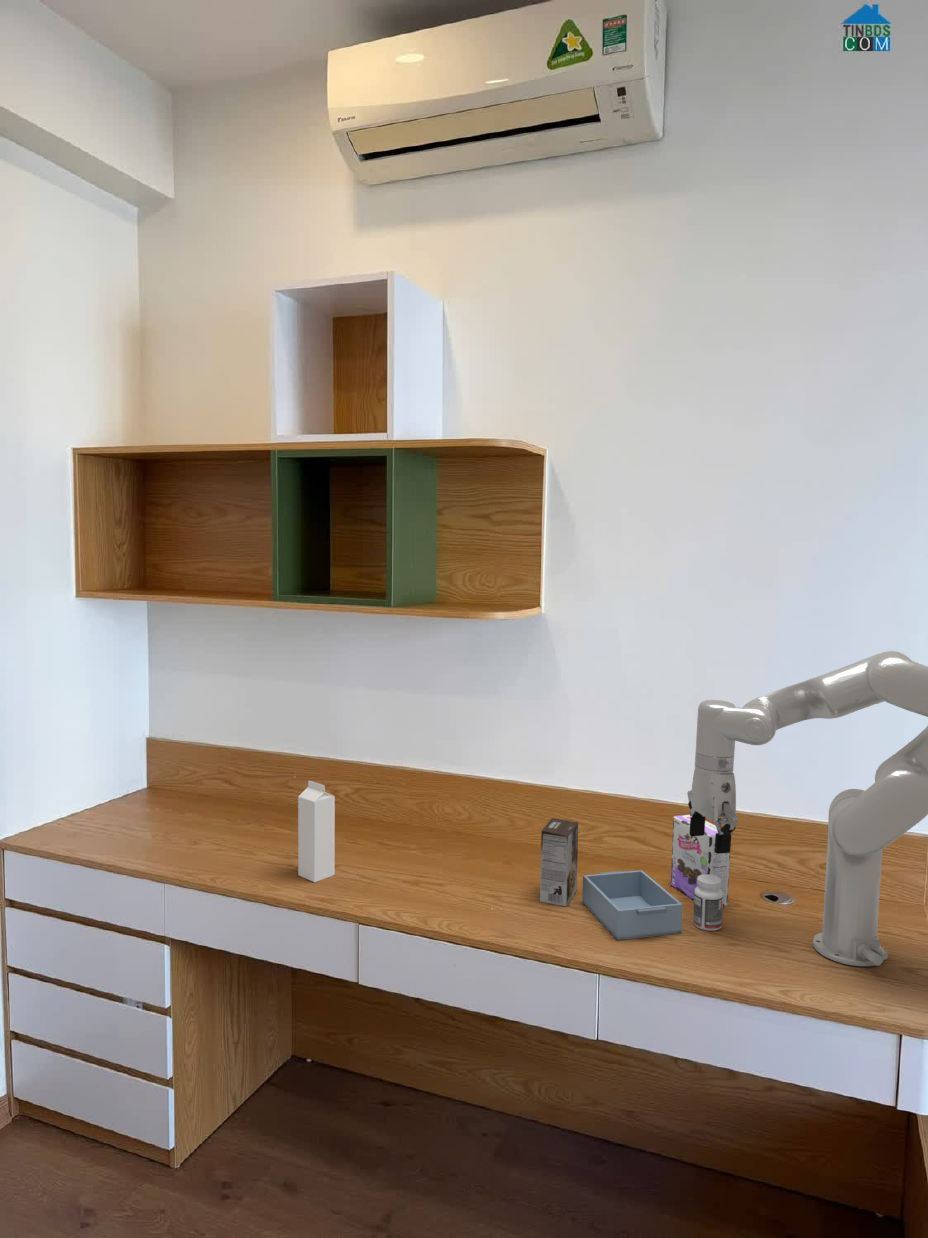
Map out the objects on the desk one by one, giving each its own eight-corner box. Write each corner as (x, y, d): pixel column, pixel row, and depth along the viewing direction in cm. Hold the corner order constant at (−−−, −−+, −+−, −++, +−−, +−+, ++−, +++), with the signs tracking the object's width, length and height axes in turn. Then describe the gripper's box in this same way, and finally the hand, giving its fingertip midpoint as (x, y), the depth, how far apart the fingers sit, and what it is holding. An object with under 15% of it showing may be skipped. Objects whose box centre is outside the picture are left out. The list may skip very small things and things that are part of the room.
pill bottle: (724, 923, 174) (727, 877, 173) (718, 934, 169) (720, 886, 168) (697, 917, 177) (699, 871, 176) (689, 927, 172) (691, 880, 171)
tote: (683, 935, 169) (685, 906, 168) (619, 942, 165) (620, 913, 165) (639, 894, 188) (640, 868, 187) (580, 900, 184) (581, 874, 184)
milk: (314, 883, 192) (314, 788, 189) (297, 875, 195) (297, 783, 193) (335, 875, 196) (335, 782, 194) (318, 868, 200) (318, 777, 198)
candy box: (669, 885, 194) (672, 815, 192) (690, 881, 196) (693, 812, 194) (706, 909, 181) (709, 835, 179) (729, 906, 183) (732, 832, 181)
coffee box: (549, 886, 192) (551, 817, 190) (577, 891, 189) (579, 821, 188) (538, 902, 183) (540, 830, 182) (567, 907, 181) (569, 834, 179)
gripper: (755, 773, 163) (749, 858, 164) (708, 750, 179) (703, 828, 181) (720, 774, 161) (715, 861, 163) (676, 751, 178) (671, 830, 179)
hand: (709, 844), depth 172 cm, fingers open, 9 cm apart
